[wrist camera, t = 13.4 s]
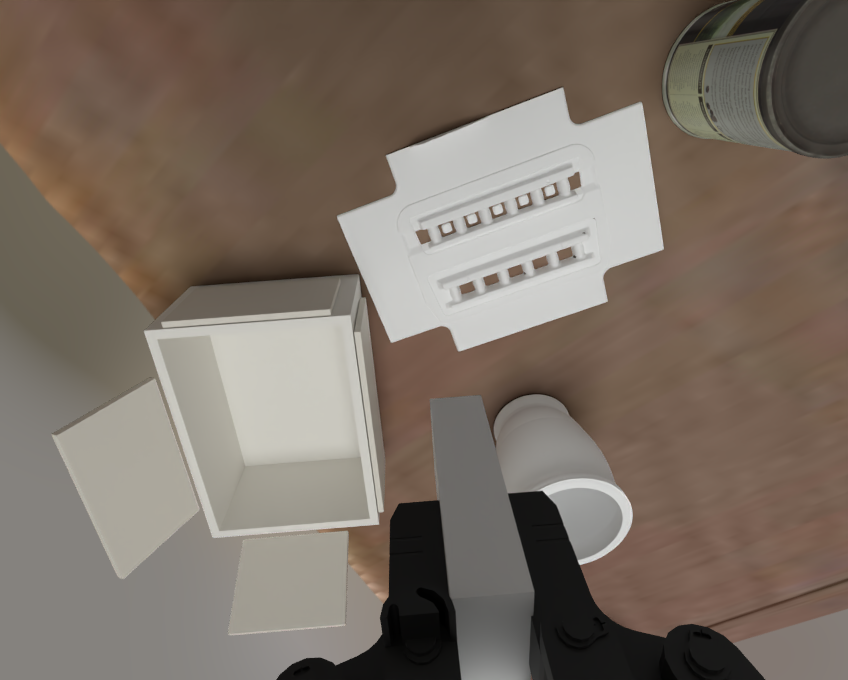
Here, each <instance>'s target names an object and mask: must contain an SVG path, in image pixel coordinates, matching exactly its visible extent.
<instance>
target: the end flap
mask: <svg viewBox="0 0 848 680" xmlns="http://www.w3.org/2000/svg"><path fill="white" fill-rule="evenodd" d="M348 539H349V533H348V531H341V532H328V533H316V534H304V535H293V536H279V537H267V538H255V539H244V540H243V543H242V550H241V556H240V562H239V568H238V574H237V580H236V586H235V593H234V599H233V605H232V611H231V617H230V623H229V629H228V634H229V635H241V634H253V633H263V632H276V631H289V630H300V629H311V628H323V627H336V626H346V607H347V606H346V605H347V572H348Z"/></svg>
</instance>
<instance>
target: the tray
mask: <svg viewBox="0 0 848 680" xmlns="http://www.w3.org/2000/svg"><path fill="white" fill-rule="evenodd" d="M386 158H387V161H388V163H389V166H390V169H391V171H392V174H393V177H394V180H395V182H396V189H395V191H394V193H393V194H392V195H390V196H387V197H385V198H382V199H379V200H377V201H374V202H371V203H369V204H366V205H363V206H361V207H358V208H356V209H353V210H350V211H348V212H345V213H342V214H340V215H337V219H338V221H339V223H340V225H341V228H342V230H343V232H344V235H345V238H346V240H347V242H348V244H349V246H350V249H351V251H352V254H353V256H354V258H355V261H356V263H357V265H358V268H359V270H360V272H361V275H362V277H363V279H364V281H365V283H366V286H367V289H368V291H369V293H370V296H371V297H372V300H373V302H374V304H375V307H376V309H377V312H378V314H379V316H380V318H381V321H382V323H383V325H384V327H385V330H386V332H387V334H388V337H389V339H390V341H391V343H392V342H395V341H398V340H401V339H404V338H407V337H410V336H413V335H416V334H419V333H422V332H425V331H427V330H430V329H433V328H436V327H439V326H445V327H447V328H449V329H450V331H451V334H452V336H453V339H454V342H455V345H456V347H457V350H458V351H462V350H465V349H468V348H471V347H474V346H477V345H480V344H483V343H486V342H489V341H492V340H495V339H498V338H501V337H504V336H507V335H510V334H513V333H516V332H518V331H522V330H525V329H528V328H531V327H534V326H537V325H540V324H543V323H545V322H548V321H552V320H555V319H557V318H560V317H563V316H566V315H569V314H572V313H576V312H579V311H582V310H584V309H587V308H590V307H593V306H596V305H599V304H602V303H605V302H607V301H608V299H607V295H606V290H605V285H604V280H603V276H604V273H605V272H606V271H607V270H608V269H609V268H611V267H614V266H617V265H620V264H623V263H626V262H629V261H632V260H635V259H638V258H640V257H643V256H646V255H649V254H652V253H655V252H658V251H661V250H663V249H664V247H663V240H662V233H661V226H660V220H659V213H658V206H657V199H656V193H655V186H654V179H653V172H652V165H651V159H650V152H649V144H648V138H647V131H646V123H645V118H644V111H643V106H642V102H638V103H635V104H632V105H630V106H627V107H624V108H622V109H619V110H616V111H614V112H611V113H608V114H606V115H603V116H600V117H598V118H595V119H592V120H590V121H587V122H584V123H582V124H575V123H573V122H572V121H571V120H570V117H569V113H568V108H567V104H566V99H565V94H564V89H563V88H560V89H557V90H554V91H552V92H549V93H547V94H544V95H542V96H539V97H536V98H534V99H531V100H529V101H526V102H523V103H521V104H518V105H515V106H513V107H510V108H508V109H505V110H502V111H500V112H497V113H495V114H492V115H489V116H487V117H484V118H482V119H479V120H477V121H474V122H471V123H469V124H466V125H463V126H461V127H458V128H456V129H453V130H451V131H448V132H445V133H443V134H440V135H437V136H435V137H432V138H430V139H427V140H424V141H422V142H419V143H417V144H414V145H412V146H409V147H407V148H404V149H402V150H399V151H397V152H394V153H391V154H389V155H386ZM576 172H579V173H580V181H581V187H580V188H577V189H574V190H570V184H569V181H568V177H570V176H573V175H574V173H576ZM555 182H556V183H557V189H558V192H559V195H558V196H556V197H553V198H550V199H547V200H544V197H543V192H542V190H541V188H542V187H545V186H547V185H550V184H552V183H555ZM529 192H530V195H531V199H532V202H533V204H532V205H531V206H528V207H525V208H522V209H518V208H517V203H516V200H515V197H518V196H520V197H519V198H518V199H519V203H520V205H521V206H522V205H525V204H528V203H529V199H528V196H527V195H523V194H526V193H529ZM545 193H546V196H550V195H553V194H554V193H555V189H554V186H553V185H550V186H547V187H545ZM521 195H522V196H521ZM501 202H504V205H505V209H506V211H507V214H506V215H503V216H500V217H497V218H495V219H492V216H491V212H490V209H489V207H490V206H493V205H495V206H493V212H494V214H495V215H498V214H500V213H502V212H503V208H502V205H501V204H499V203H501ZM496 204H498V205H496ZM477 211H478V213H479V217H480V219H481V224H478V225H475V226H473V227H470V228H467V227H466V223H465V220H464V218H463V216H466V215H468V216H467V220H468V223H469V224H473V223H476V222H477V217H476V214H474V212H477ZM471 213H473V214H471ZM469 214H470V215H469ZM594 218H595V219H594ZM452 220H453V224H454V227H455V229H456V232H455V233H453V234H451V235H448V236H445V237H442V236H441V233H440V230H439V227H438V225H440V224H443V223H446V222H449V221H452ZM421 229H423V230H425V229H428V234H429V236H430V238H431V241H430V242H428V243H425V244H422V245H421V243H420V241H419V239H418V237H417V235H416V233H415V231H418V230H421ZM442 230H443V232H444V233H448V232H451V231H452V227H451V224H450V223H446V224H443V225H442ZM583 232H585V234H584V233H583ZM568 247H571V249H572V253H573V255H575V256H576V258H574V257H573V256H572V257H570V258H567V259H564V260H561V261H559V258H558V254H557V251H559V250H562V249H565V248H568ZM545 255H546V258H547V261H548V265H547V266H544V267H541V268H538V269H534V266H533V262H532V260H534V259H537V258H540V257H542V256H545ZM520 264H521V265H522V269H523V271H524V272H525V273H526V274H524V273H523V274H521V275H518V276H515V277H512V278H510V277H509V273H508V270H507V269H508V268H511V267H514V266H517V265H520ZM494 273H497V276H498V278H499V282H498V283H495V284H492V285H489V286H486V285H485V282H484V279H483V277H485V276H488V275H491V274H494ZM471 281H473V284H474V287H475V290H474V291H472V292H469V293H466V294H461V290H460V288H459V285H462V284H465V283H468V282H471Z"/></svg>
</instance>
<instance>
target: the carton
mask: <svg viewBox="0 0 848 680" xmlns="http://www.w3.org/2000/svg"><path fill="white" fill-rule="evenodd" d="M144 333H145V336H146V339H147V342H148V345H149V348H150V351H151V354H152V357H153V360H154V363H155V366H156V369H157V372H158V375H159V378H160V381H161V384H162V387H163V390H164V393H165V396H166V399H167V402H168V405H169V408H170V411H171V414H172V417H173V420H174V423H175V426H176V429H177V432H178V435H179V438H180V441H181V444H182V447H183V450H184V453H185V456H186V459H187V462H188V465H189V468H190V471H191V474H192V477H193V480H194V483H195V486H196V489H197V492H198V495H199V498H200V501H201V504H202V507H203V510H204V513H205V516H206V519H207V522H208V525H209V528H210V531H211V534H212V537H213V538H218V537H229V536H230V537H231V536H243V535H255V534H267V533H280V532H292V531H304V530H317V529H329V528H341V527H354V526H366V525H378V524H379V513H380V512H384V489H385V453H384V445H383V436H382V428H381V420H380V412H379V403H378V395H377V387H376V378H375V370H374V362H373V354H372V345H371V337H370V329H369V320H368V312H367V304H366V297H365V298H362V293H361V285H360V277H359V274H351V275H338V276H325V277H311V278H298V279H284V280H271V281H258V282H244V283H231V284H218V285H204V286H191V287H190V288H188V289H187V290H186V291H185V292H184V293H183V294H182V295H181V296H180V297H179V298H178V299H177V300H176V301H175V302H174V303H173V304H172V305H170V306H169V307H168V308H167V309H166V310H165V311H164V312H163V313H162V314H161V315H160V316H159V317H158V318H157V319H156V320H155V321H153V322H152V323H151V324H150V325H149V326H148V327H147V328H146V329H145V330H144Z"/></svg>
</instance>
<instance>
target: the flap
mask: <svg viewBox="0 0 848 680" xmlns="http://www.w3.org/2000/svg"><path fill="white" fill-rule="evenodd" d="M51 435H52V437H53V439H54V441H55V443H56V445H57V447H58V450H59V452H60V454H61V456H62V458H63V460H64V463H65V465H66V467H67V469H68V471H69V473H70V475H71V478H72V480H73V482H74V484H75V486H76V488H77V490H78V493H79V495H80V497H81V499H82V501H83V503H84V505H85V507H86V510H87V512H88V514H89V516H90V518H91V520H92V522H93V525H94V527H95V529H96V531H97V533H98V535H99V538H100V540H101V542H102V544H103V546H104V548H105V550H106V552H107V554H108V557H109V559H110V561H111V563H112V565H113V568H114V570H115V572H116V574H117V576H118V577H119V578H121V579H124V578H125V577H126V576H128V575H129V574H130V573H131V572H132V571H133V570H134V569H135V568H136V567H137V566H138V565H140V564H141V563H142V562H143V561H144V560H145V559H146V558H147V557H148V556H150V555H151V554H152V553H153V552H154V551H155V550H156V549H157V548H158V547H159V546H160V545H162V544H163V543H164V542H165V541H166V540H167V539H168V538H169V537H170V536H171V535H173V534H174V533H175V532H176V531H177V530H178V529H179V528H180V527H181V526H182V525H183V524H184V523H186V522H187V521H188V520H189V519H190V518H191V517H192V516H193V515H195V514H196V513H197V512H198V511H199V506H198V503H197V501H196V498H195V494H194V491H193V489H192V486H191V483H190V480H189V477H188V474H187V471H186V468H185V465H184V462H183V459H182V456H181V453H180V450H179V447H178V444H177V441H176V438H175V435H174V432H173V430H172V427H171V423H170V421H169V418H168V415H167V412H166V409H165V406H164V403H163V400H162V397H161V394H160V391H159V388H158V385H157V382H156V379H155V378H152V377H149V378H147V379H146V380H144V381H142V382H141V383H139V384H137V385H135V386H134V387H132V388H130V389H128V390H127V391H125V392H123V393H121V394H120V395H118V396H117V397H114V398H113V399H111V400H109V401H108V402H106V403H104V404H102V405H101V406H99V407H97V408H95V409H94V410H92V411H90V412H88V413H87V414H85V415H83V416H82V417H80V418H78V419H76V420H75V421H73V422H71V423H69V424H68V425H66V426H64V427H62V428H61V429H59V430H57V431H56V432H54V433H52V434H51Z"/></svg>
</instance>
